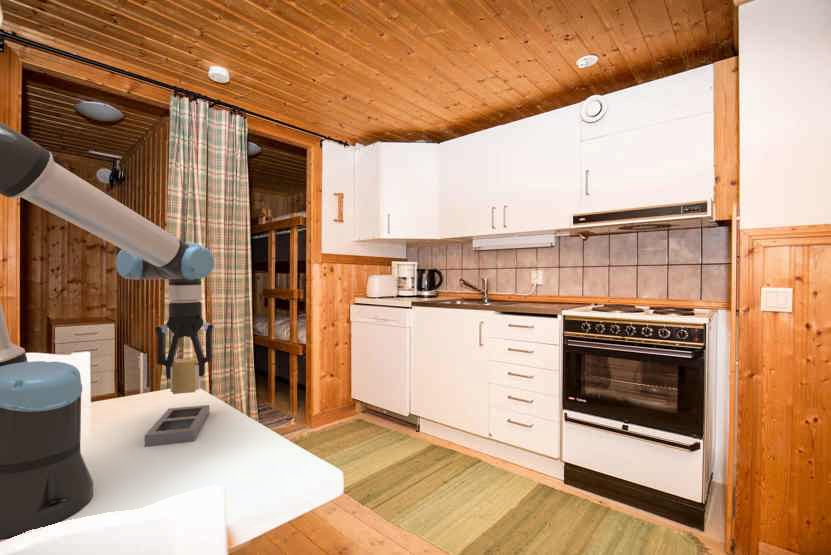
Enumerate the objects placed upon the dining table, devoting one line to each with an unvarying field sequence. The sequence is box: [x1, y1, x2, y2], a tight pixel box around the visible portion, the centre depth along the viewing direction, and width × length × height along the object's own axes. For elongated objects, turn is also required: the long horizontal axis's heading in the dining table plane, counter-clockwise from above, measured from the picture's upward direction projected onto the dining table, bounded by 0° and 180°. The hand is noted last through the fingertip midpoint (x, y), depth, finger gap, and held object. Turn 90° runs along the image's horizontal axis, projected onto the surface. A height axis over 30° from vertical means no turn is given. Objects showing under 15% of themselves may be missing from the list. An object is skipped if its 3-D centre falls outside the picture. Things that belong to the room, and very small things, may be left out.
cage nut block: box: [172, 357, 198, 395], centre depth 105 cm, size 5×5×8 cm
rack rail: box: [144, 404, 211, 448], centre depth 101 cm, size 20×10×2 cm, turn 18°
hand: (185, 389), depth 105 cm, fingers closed on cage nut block, 5 cm apart
